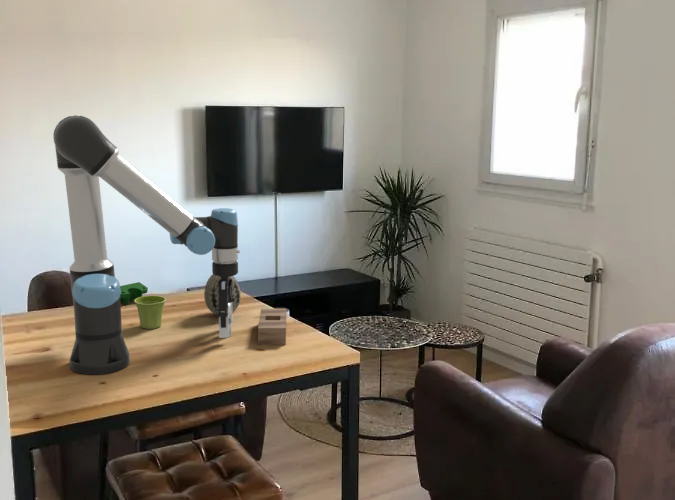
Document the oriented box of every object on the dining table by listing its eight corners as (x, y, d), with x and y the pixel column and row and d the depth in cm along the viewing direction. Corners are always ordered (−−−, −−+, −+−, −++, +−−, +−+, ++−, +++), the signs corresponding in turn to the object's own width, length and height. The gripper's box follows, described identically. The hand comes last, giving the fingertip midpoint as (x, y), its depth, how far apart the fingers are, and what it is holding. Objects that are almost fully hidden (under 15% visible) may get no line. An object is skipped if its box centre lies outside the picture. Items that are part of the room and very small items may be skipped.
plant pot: (168, 329, 223) (168, 302, 221) (137, 332, 220) (136, 304, 218) (164, 320, 232) (163, 294, 230) (133, 323, 228) (132, 296, 226)
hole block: (285, 344, 212) (285, 328, 211) (258, 344, 211) (258, 328, 210) (286, 323, 231) (286, 308, 230) (261, 323, 231) (261, 308, 230)
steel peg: (230, 337, 217) (230, 305, 215) (220, 337, 217) (220, 305, 215) (231, 334, 220) (231, 302, 218) (221, 334, 220) (221, 302, 218)
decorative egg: (230, 322, 231) (230, 276, 228) (198, 318, 235) (197, 273, 232) (246, 312, 242) (246, 268, 239) (214, 308, 246) (214, 265, 243)
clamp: (124, 317, 249) (117, 297, 243) (114, 310, 252) (107, 290, 246) (152, 298, 256) (146, 279, 250) (142, 291, 259) (136, 272, 253)
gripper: (234, 271, 202) (235, 343, 206) (241, 252, 226) (241, 317, 230) (207, 271, 201) (208, 343, 206) (216, 252, 226) (217, 317, 230)
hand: (226, 330), depth 218 cm, fingers open, 13 cm apart
